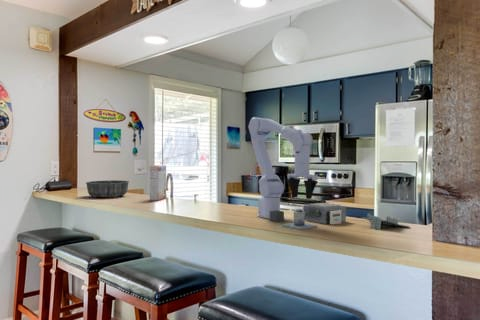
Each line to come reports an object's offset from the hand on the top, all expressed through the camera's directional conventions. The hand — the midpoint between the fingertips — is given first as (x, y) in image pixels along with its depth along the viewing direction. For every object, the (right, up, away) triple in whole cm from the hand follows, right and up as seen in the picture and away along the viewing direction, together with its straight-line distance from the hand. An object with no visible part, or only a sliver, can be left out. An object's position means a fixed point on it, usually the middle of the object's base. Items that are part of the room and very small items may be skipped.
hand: (301, 197), depth 142 cm
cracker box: (-74, -10, +78) cm, 109 cm away
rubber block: (-9, -10, +4) cm, 14 cm away
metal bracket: (+29, -11, -6) cm, 32 cm away
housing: (+10, -10, +6) cm, 16 cm away
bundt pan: (-110, -9, +92) cm, 144 cm away
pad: (-2, -10, -8) cm, 13 cm away
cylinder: (-2, -9, -8) cm, 12 cm away
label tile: (+13, -10, -1) cm, 16 cm away
